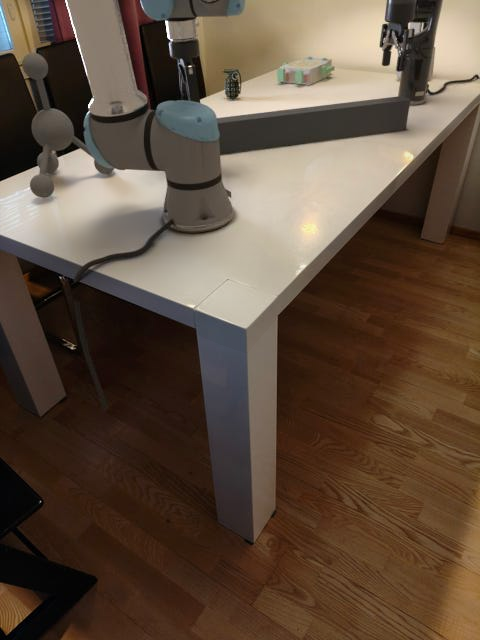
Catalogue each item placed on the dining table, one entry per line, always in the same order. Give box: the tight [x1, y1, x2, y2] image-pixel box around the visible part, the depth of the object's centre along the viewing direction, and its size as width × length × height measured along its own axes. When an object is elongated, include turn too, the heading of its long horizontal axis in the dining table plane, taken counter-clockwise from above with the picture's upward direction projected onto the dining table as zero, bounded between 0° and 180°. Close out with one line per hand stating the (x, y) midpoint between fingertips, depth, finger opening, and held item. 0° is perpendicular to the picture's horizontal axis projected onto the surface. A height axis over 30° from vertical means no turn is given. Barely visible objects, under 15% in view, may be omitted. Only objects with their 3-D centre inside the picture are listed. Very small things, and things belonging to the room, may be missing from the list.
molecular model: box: [21, 52, 116, 199], centre depth 119 cm, size 24×22×30 cm
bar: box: [217, 95, 411, 156], centre depth 142 cm, size 70×5×9 cm, turn 104°
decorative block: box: [276, 56, 336, 86], centre depth 205 cm, size 26×6×20 cm
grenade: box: [221, 68, 242, 100], centre depth 184 cm, size 7×6×10 cm
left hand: (193, 126), depth 135 cm, fingers open, 13 cm apart
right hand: (392, 68), depth 138 cm, fingers open, 8 cm apart
